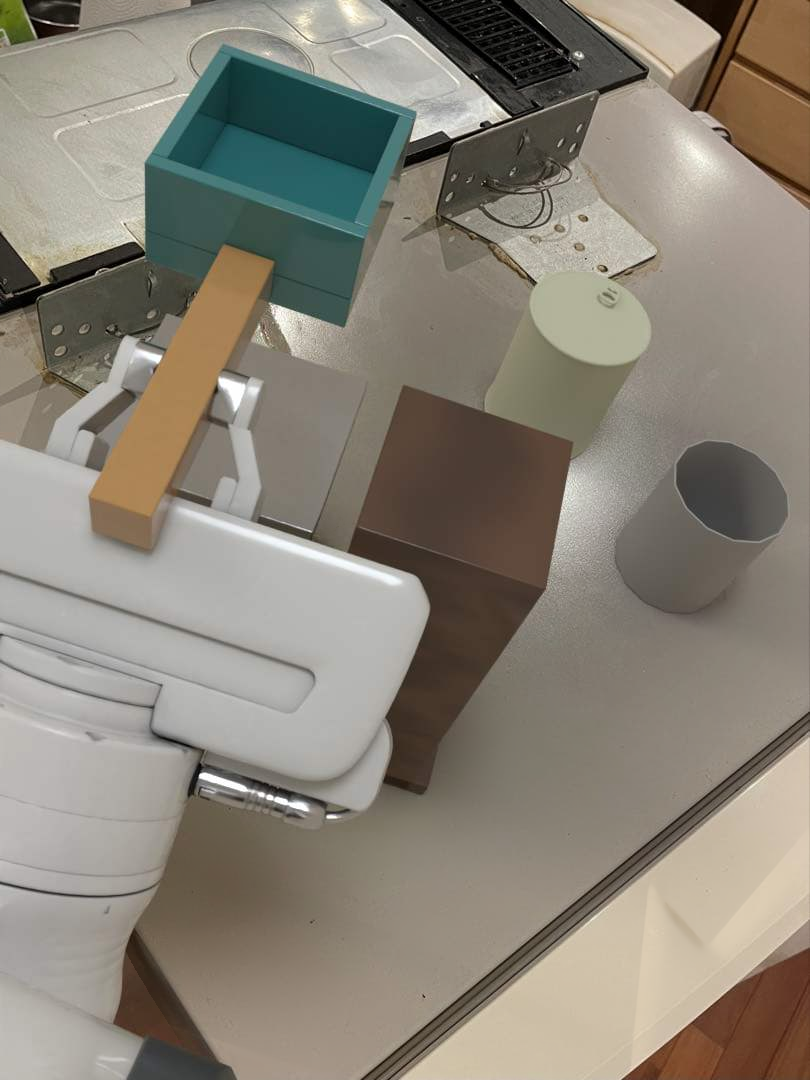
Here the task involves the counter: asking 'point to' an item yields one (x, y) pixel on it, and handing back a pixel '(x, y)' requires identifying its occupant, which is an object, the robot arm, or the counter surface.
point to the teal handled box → (247, 247)
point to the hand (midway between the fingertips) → (197, 360)
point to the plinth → (459, 552)
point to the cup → (702, 526)
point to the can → (570, 356)
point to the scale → (276, 436)
